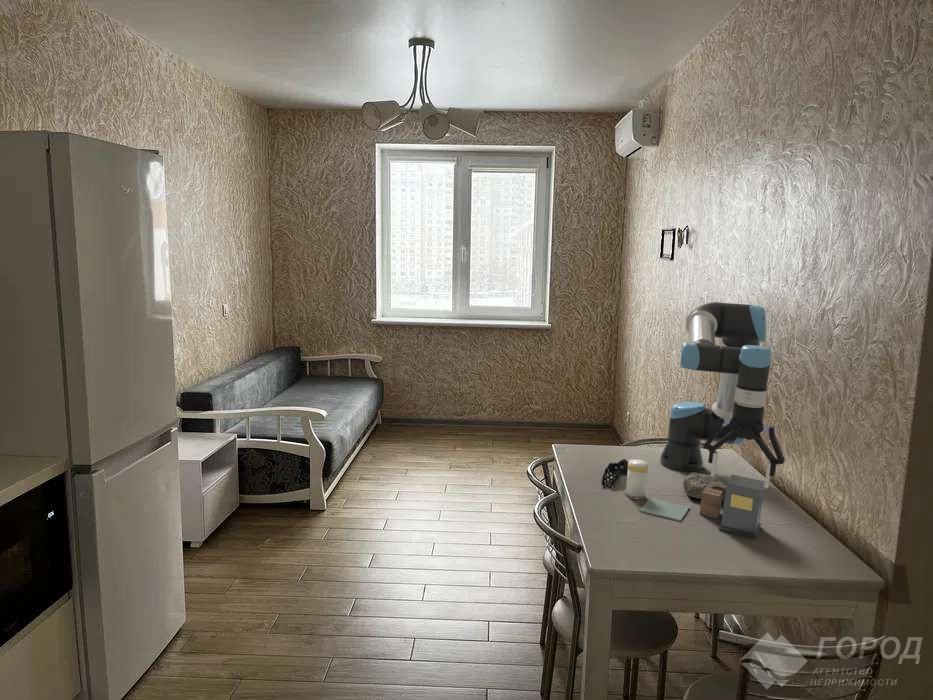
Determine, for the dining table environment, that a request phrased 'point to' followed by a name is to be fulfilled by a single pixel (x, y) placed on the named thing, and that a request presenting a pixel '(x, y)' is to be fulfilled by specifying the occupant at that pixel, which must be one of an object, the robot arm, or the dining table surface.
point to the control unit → (742, 506)
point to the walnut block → (711, 502)
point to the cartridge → (636, 478)
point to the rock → (702, 485)
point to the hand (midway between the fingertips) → (739, 480)
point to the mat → (665, 509)
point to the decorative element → (614, 472)
